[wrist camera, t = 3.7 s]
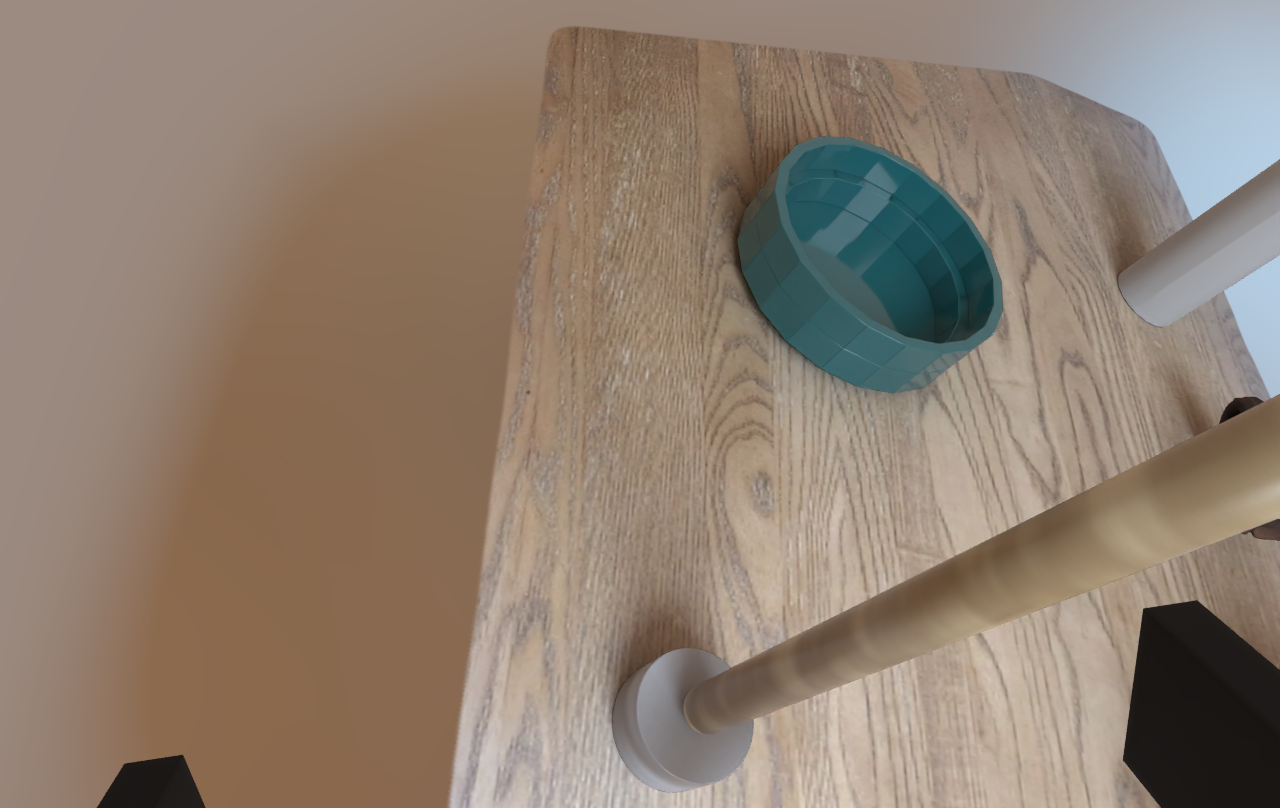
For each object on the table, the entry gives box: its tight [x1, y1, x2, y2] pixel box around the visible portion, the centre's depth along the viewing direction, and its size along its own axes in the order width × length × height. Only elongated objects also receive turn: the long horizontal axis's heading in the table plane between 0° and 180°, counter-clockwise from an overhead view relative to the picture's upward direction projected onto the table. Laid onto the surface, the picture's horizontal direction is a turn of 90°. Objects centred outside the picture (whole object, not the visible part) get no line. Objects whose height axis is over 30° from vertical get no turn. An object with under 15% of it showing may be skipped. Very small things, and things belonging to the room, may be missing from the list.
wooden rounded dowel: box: [613, 394, 1280, 793], centre depth 25 cm, size 6×6×40 cm
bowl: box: [737, 136, 1003, 393], centre depth 60 cm, size 19×19×6 cm
